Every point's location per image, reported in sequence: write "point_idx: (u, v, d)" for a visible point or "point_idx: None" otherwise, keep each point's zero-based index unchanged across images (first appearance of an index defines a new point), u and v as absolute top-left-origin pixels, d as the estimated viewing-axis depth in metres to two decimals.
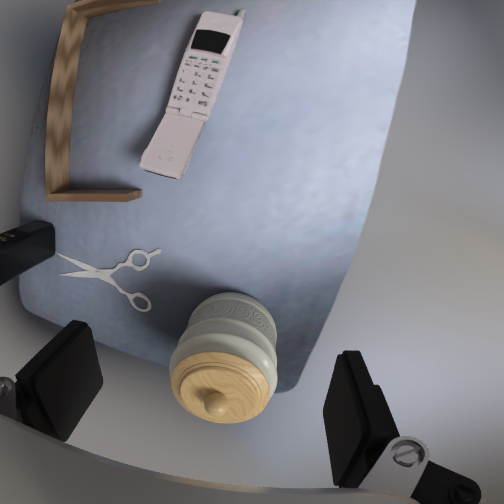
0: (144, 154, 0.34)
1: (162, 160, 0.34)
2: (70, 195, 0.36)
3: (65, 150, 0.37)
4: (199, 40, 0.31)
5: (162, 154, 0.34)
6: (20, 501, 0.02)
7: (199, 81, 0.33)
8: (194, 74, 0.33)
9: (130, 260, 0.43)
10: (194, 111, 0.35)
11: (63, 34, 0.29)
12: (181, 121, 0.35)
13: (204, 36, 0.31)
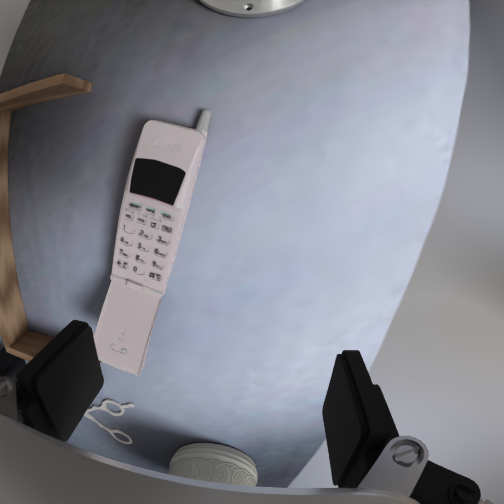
0: None
1: (114, 350, 0.27)
2: (28, 356, 0.28)
3: (14, 292, 0.30)
4: (140, 179, 0.24)
5: (114, 343, 0.27)
6: (20, 501, 0.02)
7: (147, 244, 0.26)
8: (139, 233, 0.26)
9: (104, 406, 0.35)
10: (145, 285, 0.27)
11: None
12: (131, 295, 0.28)
13: (147, 172, 0.24)
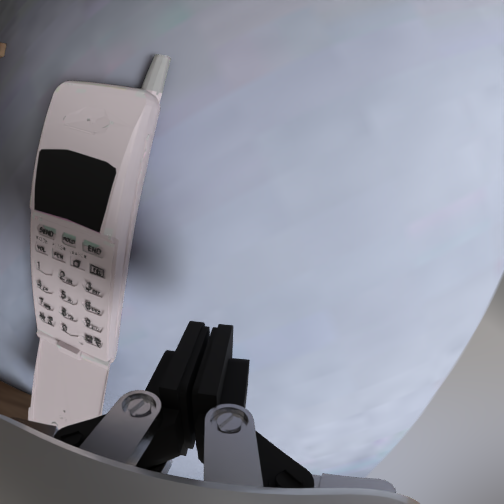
0: (30, 415, 0.15)
1: None
2: None
3: None
4: (47, 186, 0.12)
5: (56, 420, 0.15)
6: (20, 501, 0.02)
7: (74, 293, 0.14)
8: (59, 275, 0.14)
9: None
10: (83, 351, 0.16)
11: None
12: (68, 361, 0.16)
13: (56, 173, 0.11)
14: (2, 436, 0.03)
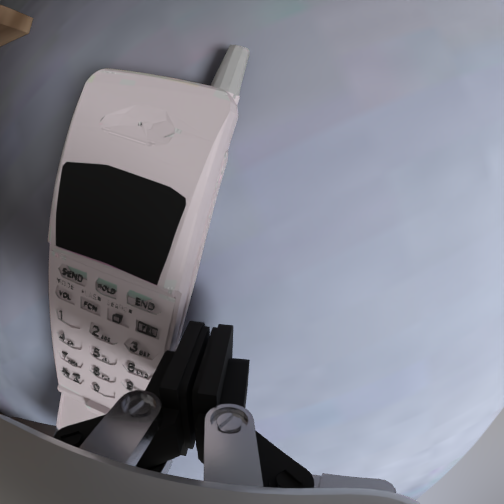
0: None
1: None
2: None
3: None
4: (76, 215, 0.09)
5: None
6: (20, 501, 0.02)
7: (111, 351, 0.11)
8: (91, 330, 0.11)
9: None
10: None
11: None
12: None
13: (89, 198, 0.09)
14: (2, 436, 0.03)
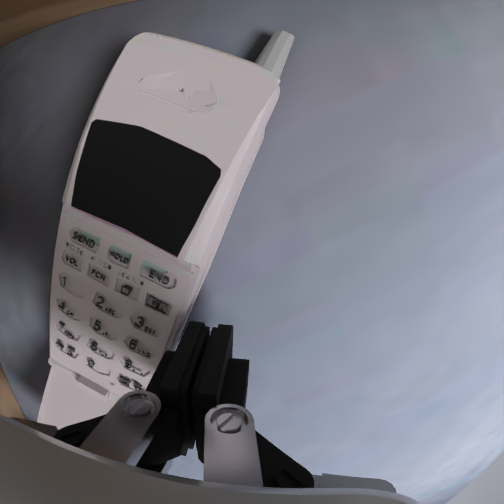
0: None
1: None
2: None
3: None
4: (98, 175, 0.09)
5: None
6: (20, 501, 0.02)
7: (113, 325, 0.11)
8: (95, 300, 0.10)
9: None
10: (113, 391, 0.12)
11: None
12: (88, 398, 0.13)
13: (116, 158, 0.08)
14: (2, 436, 0.03)
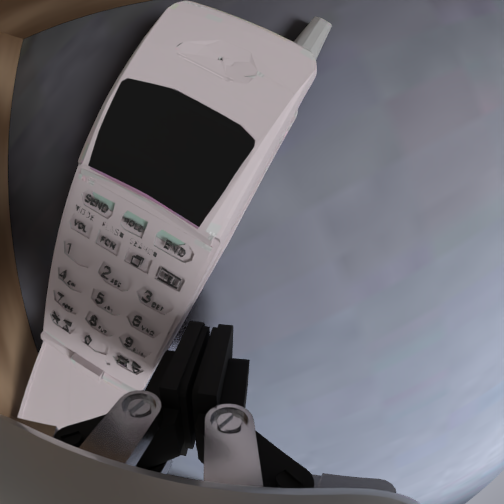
0: None
1: None
2: None
3: None
4: (123, 135, 0.08)
5: None
6: (20, 501, 0.02)
7: (118, 299, 0.10)
8: (101, 271, 0.10)
9: None
10: (108, 372, 0.12)
11: None
12: (80, 378, 0.12)
13: (145, 119, 0.08)
14: (2, 436, 0.03)
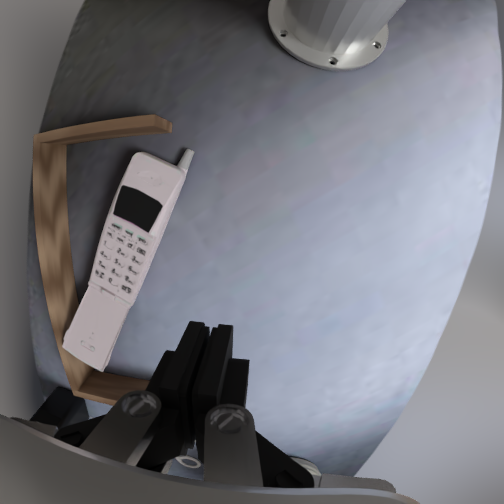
0: (66, 335, 0.28)
1: (84, 347, 0.29)
2: (104, 399, 0.30)
3: None
4: (123, 204, 0.27)
5: (84, 340, 0.29)
6: (20, 501, 0.02)
7: (123, 261, 0.29)
8: (117, 250, 0.28)
9: None
10: (117, 295, 0.30)
11: (37, 188, 0.25)
12: (104, 301, 0.30)
13: (130, 199, 0.27)
14: (2, 436, 0.03)
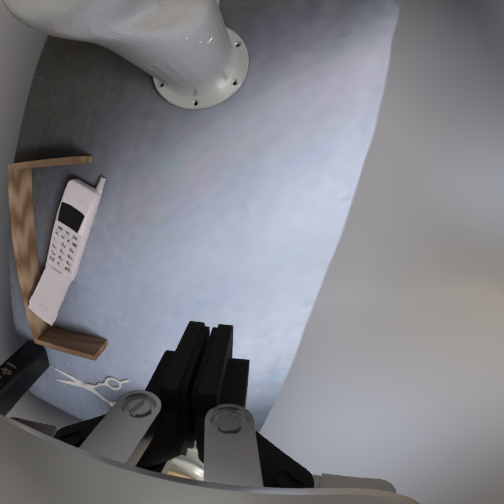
0: (31, 299, 0.40)
1: (41, 308, 0.40)
2: (52, 345, 0.42)
3: None
4: (63, 214, 0.38)
5: (42, 303, 0.41)
6: (20, 501, 0.02)
7: (65, 250, 0.40)
8: (61, 243, 0.40)
9: (107, 383, 0.49)
10: (62, 273, 0.41)
11: (11, 200, 0.35)
12: (55, 277, 0.42)
13: (66, 211, 0.37)
14: (2, 436, 0.03)
